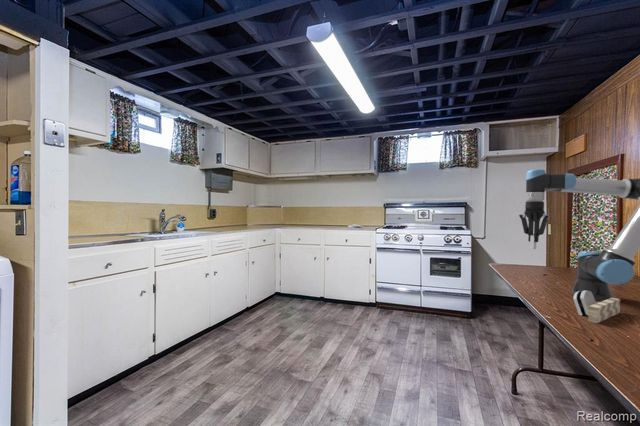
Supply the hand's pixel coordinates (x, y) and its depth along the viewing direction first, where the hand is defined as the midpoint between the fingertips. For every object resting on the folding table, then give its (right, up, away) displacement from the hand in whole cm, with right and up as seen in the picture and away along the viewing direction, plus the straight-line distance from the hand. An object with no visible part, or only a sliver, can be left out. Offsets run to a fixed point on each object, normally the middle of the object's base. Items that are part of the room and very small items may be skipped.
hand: (533, 248), depth 148 cm
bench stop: (+11, -25, -25) cm, 37 cm away
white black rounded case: (+9, -25, -19) cm, 33 cm away
